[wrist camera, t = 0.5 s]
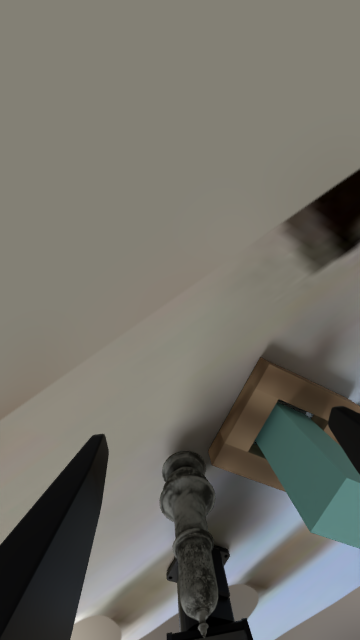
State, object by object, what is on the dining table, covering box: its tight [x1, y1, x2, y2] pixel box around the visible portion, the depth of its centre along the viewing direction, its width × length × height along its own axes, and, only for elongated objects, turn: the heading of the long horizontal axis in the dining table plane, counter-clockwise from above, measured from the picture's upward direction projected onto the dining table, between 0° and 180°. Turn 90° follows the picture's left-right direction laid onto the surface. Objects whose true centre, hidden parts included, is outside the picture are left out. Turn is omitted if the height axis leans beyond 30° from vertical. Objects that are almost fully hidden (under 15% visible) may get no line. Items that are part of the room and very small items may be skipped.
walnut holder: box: [208, 357, 360, 492], centre depth 24 cm, size 13×13×2 cm
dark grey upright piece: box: [160, 451, 218, 638], centre depth 19 cm, size 6×6×12 cm
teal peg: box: [255, 402, 360, 548], centre depth 20 cm, size 5×5×10 cm
